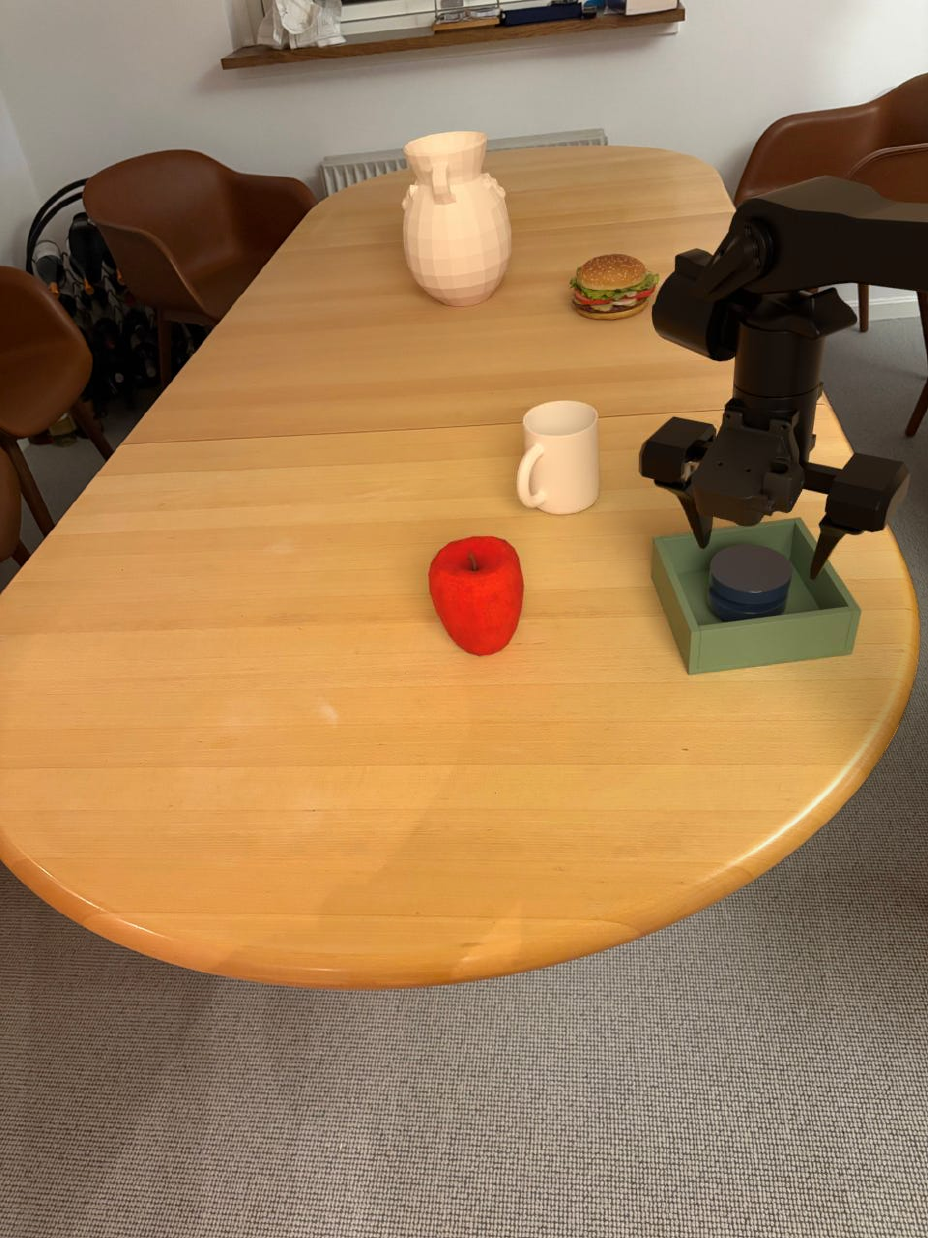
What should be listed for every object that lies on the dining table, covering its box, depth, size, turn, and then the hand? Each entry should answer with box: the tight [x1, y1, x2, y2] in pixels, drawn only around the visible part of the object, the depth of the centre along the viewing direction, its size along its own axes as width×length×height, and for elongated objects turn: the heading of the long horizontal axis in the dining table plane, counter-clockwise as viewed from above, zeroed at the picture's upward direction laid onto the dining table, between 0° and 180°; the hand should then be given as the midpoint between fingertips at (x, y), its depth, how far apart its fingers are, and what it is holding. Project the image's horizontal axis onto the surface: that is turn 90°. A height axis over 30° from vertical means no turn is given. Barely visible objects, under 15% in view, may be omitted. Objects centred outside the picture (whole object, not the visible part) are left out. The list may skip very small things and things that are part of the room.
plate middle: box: [709, 544, 792, 605], centre depth 81 cm, size 7×7×2 cm
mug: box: [516, 399, 601, 516], centre depth 99 cm, size 12×8×10 cm
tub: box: [651, 516, 862, 676], centre depth 82 cm, size 15×15×5 cm
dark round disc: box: [707, 582, 788, 622], centre depth 83 cm, size 7×7×2 cm
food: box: [569, 253, 660, 321], centre depth 142 cm, size 14×14×8 cm
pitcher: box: [401, 131, 513, 307], centre depth 148 cm, size 19×18×25 cm
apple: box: [427, 535, 525, 657], centre depth 82 cm, size 9×9×11 cm
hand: (757, 561), depth 71 cm, fingers open, 9 cm apart
